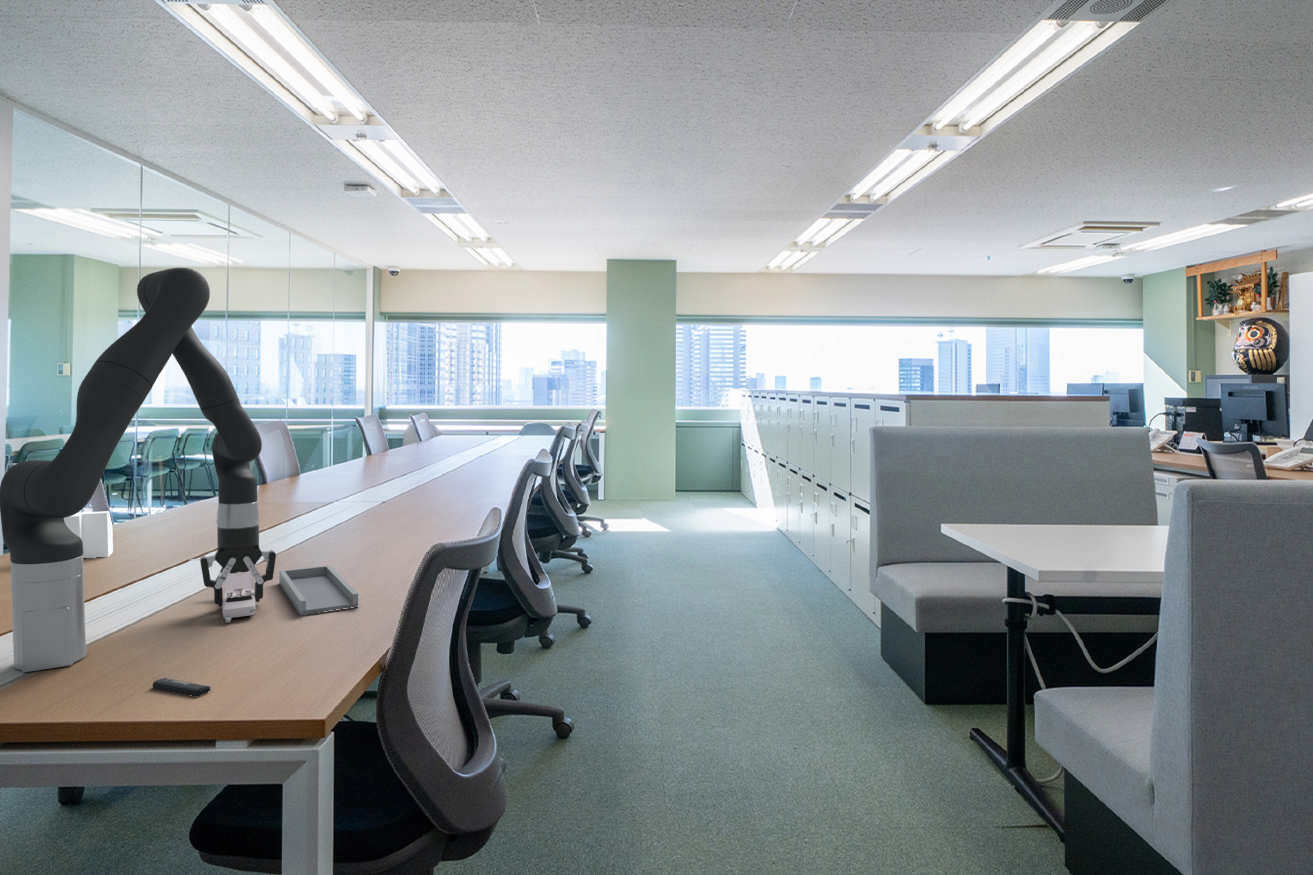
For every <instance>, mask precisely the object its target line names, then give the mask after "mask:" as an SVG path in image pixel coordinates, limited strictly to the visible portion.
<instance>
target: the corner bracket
mask: <svg viewBox="0 0 1313 875" xmlns="http://www.w3.org/2000/svg"><path fill="white" fill-rule="evenodd" d="M64 522H65V524H66V526H67V527H68V528H69V529H70V531H72V532H73V533H74V534H76V535H77V536H78V537H80V538H81V540H82V542H83V558H93V559H97V558H96V557H107V558H109V557H110V556H111V555H112V554H113V553H114V538H113V537H114V536H113V534H114V533H113V532H114V531H113V530H114V529H113V522H112V518H111V514H110V510H107V511H106V510H104V511H87V512H78V513H76V514H74V515H72V516H70V517H65V518H64Z"/></svg>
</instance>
